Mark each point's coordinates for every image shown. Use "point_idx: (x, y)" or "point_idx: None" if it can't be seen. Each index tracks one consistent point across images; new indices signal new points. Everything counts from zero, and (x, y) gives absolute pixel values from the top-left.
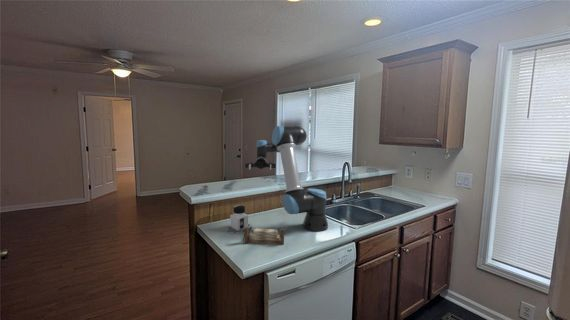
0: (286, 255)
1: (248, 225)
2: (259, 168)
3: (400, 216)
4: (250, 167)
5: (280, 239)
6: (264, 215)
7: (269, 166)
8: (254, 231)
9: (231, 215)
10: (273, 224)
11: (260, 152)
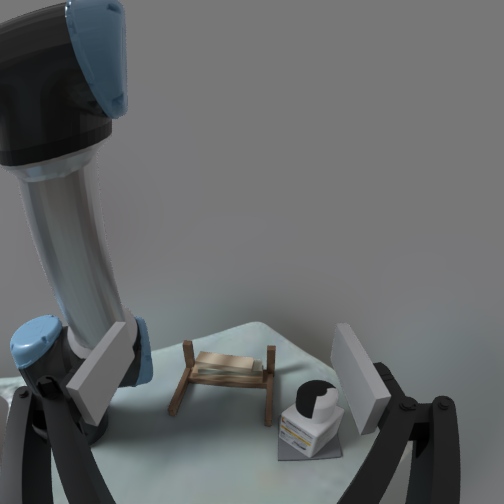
0: (193, 341)
1: (280, 450)
2: None
3: None
4: (352, 395)
5: (194, 358)
6: None
7: (84, 442)
8: (251, 358)
9: (338, 406)
10: (191, 462)
11: None
